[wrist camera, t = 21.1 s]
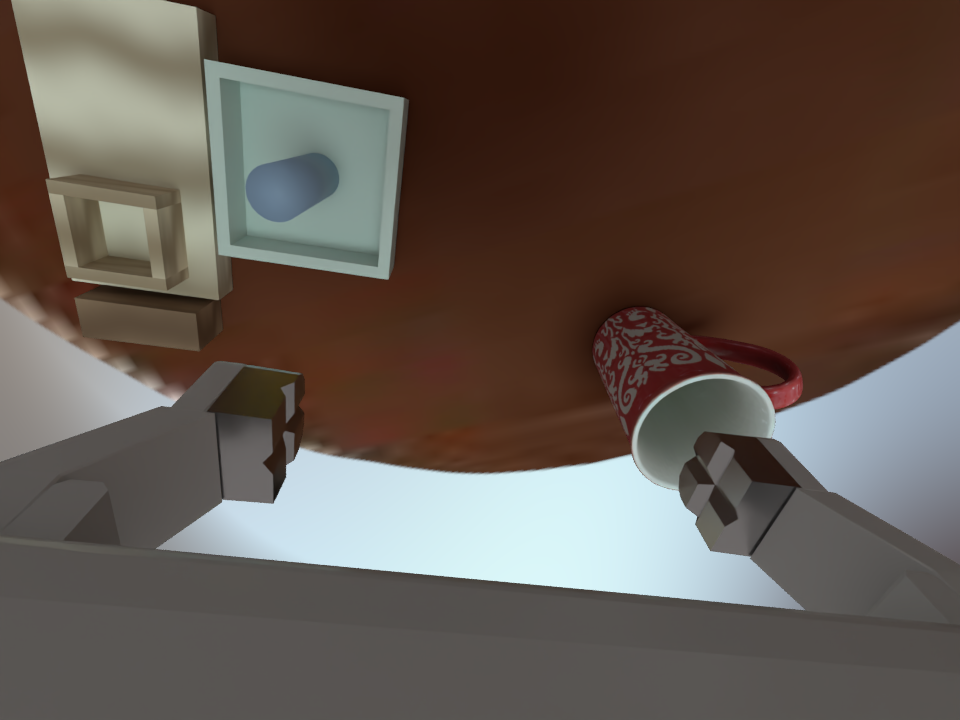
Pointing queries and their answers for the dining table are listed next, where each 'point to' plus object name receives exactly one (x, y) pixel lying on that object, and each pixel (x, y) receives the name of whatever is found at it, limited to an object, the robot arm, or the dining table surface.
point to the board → (127, 140)
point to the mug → (684, 388)
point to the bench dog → (149, 317)
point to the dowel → (291, 186)
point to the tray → (298, 131)
